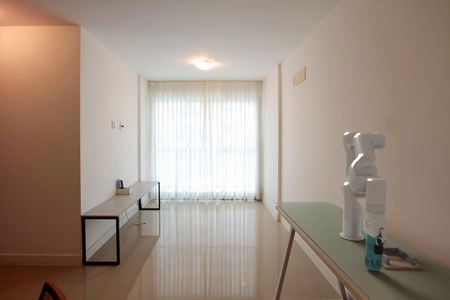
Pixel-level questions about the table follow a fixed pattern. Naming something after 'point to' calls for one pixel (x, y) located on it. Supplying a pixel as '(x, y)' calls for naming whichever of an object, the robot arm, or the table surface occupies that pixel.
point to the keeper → (398, 260)
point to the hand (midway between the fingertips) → (373, 250)
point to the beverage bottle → (372, 255)
